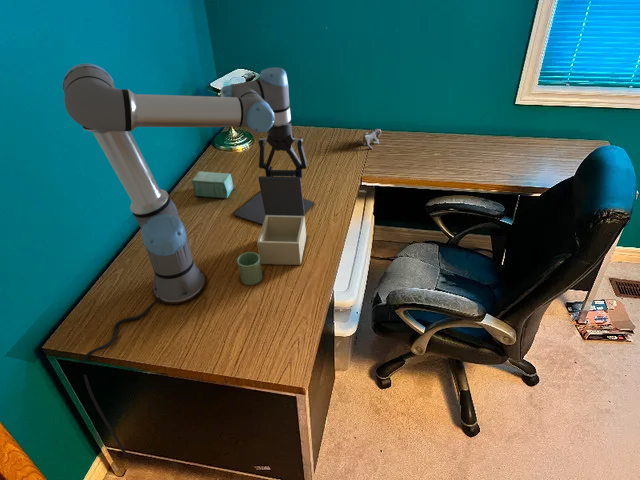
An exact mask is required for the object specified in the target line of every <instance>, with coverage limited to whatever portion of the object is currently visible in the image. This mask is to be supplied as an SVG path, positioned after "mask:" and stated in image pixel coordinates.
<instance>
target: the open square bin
mask: <svg viewBox="0 0 640 480" xmlns="http://www.w3.org/2000/svg"><path fill="white" fill-rule="evenodd" d="M306 241H307V229H306V216H305V215H304V216H272V215H266V216H265V219H264V223H263V225H262V226H261V229H260V231H259V235H258V239H257V241H256V245H257V250H258V255H259V256H260V262H261V265H284V266H285V265H289V266H291V265H292V266H301V265H302V262H303V261H302V260H303V255H304V251H305V245H306Z"/></svg>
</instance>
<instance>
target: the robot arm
mask: <svg viewBox="0 0 640 480" xmlns="http://www.w3.org/2000/svg"><path fill="white" fill-rule="evenodd" d="M287 75H288V74H287V71H286V70H285V69H283V68H281V67H267V68H265V69H262V70H261V72H260V76H259V78H258V79H254V80H250V81H244V82H238V83H231V84H229V85H225V86H222V87H221V88H220V96H208V95H207V96H206V95H205V96H204V95H173V94H171V95H170V94H143V93H141V94H140V93H138V94H137V93H134V92H133V91H131V90H130V89H129V88H128V89H124V88H123V89H122V88H116V87H115V83H114V80H113V78H112V76H111V75H110V74H109V72H107V71H106V70H105V68H103V67H101V66H98V65H96V64H93V63H79V64H76V65H74V66H72V67H71V68H70V69H68V70H67V71H66V73H65V76H64V78H63V80H62V90H63V94H64V95H63V101H64V107H65V110H66V112H67V114H68V116H69V117H70V118H71V119H72V120H73V121H74V122H75V123H77V124H78V125H80V126H81V127H82V129H83V130H85V131H87V132H91V133H92V134H93V136H94V137H95V139H96V141H97V143H98V145H99V146H100V147H101V149H102V151H103V153H104V154H105V157H106V158H107V160H108V162H109V164H110V165H111V167H112V169H113V171H114V172H115V174H116V177H117V178H118V180H119V182H120V183H121V185H122V186H123V188H124V190H125V192H126V194H127V195H128V197H129V198H130V201H131V203H130V206H129V209H130V211H131V213H132V215H133V216H134V218H135V220H136V222H137V224H138V225H139V227H140V230H141V240H142V244H143V246H144V247H145V250H146V253H147V256H148V259H149V261H150V264H151V268H152V270H153V273H154V275H153V284H152V285H153V288H152V289H153V293H154V295H155V298H156V299H155V300H154V301H153V302H152V303H151V304H150V305H148V306H147V307H146V309H144V311H142V313H141V314H139V315H136V316H132V317H127V318H126V317H125V318H123V319H120V320H118V321H117V322H116V323H115V324H114V326H113V336H112V339H110V340H109V341H108V342H106V343H105V344H103V345H101V346H99V347H96V348H93V349H92V350H90V351H89V352H87V353H86V354H85V355H84V357H83V358H82V360H81V364H84V363H85V362H86V361H87V359H88V358H89V357H90V356H91V355H93V354H94V353H96V352H98V351H101V350H103V349H105V348H108V347H109V346H110V345H112V344H113V343H114V342H115V341H116V339H117V335H118V333H117V332H118V330H117V329H118V327H119V326H120V324H122V323H125V322H129V321H135V320H139V319H141V318H142V317H144V316H145V315H146V314H147V313H148V312H149V311H150V310H151V309H152V308H153V307H154V306H155V305H156V304H158V302H161V303H163V304H166V305H181V304H185V303H189V302H190V301H192V300H194V299H196V298H197V297H198V296H200V294H201V293H202V292H203V290H204V288H205V286H206V279H205V275H204V273H203V272H202V270H201V269H200V268H199V267H198V265H197V264H196V263H195V261H194V257H193V254H192V251H191V247H190V243H189V240H188V236H187V229H186V227H185V225H184V223H183V222H182V220H181V217H180V216H179V213H178V209H177V206H176V204H175V202H173V200H172V199H171V197H170V195H169V193H168V192H167V191H166V190H165V189H161V188H160V187H159V185H158V183H157V181H156V179H155V177H154V175H153V173H152V172H151V169H150V168H149V166H148V163H147V161H146V160H145V157H144V156H143V153H142V151H141V150H140V148H139V146H138V144H137V141H136V140H135V138H134V136H133V134H132V133H131V132H133V131H134V130H135V129H136V128H249V129H250V130H251V131H253V132H255V133H261V134H262V133H265V132H266V133H267V137H263V136H260V137H259V140H258V142H257V143H258V145H259V159H258V168H259V169H263V170H264V172H265V176H270V171H271V170H273V166H271V163H272V160H273V157H274V155H275V152H279V151H282V152H286V154H287V155H288V156H289V158H290V159H291V161H292V163H293V165H294V166H295V169H294V170H295V175H296V176H295V177H301V179H302V178H303V170H306V169H307V166H308V160H307V158H306V153H305V150H304V145H303V140H304V139H303V137H295V136H294V135H293V129H292V128H293V127H292V121H291V120H292V117H291V116H292V115H291V106H290V94H289V93H290V92H289V81H288V76H287ZM267 143H268V144H269V145H270V146H271V149H270V153H269V155H268V158H267V161H266V163H265V157H266V156H265V154H266V145H267ZM293 143H294V144H295V146H296V147H297V151H298V155H299V157H298V155H297V154H296V152H295V150H294V148H293ZM82 374H83V373H82ZM83 380H84V383H85V386H86V388H87V391H88V394H89V396H90V398H91V401H92V403H93V405H94V406H95V409H96V410H97V412H98V414H99V415H100V417H101V419H102V420H103V422H104V424H105V426H106V427H107V429H108V430H109V432H110V434H111V435H112V437H113V439H114V440H115V442H116V443H117V445H118V447H119V449H120V451H121V452H122V454H123V456H124V457H127V456H128V453H127V452H126V450H125V448H124V446H123V444H122V443H121V441H120V439H119V438H118V436H117V434H116V433H115V431H114V430H113V428H112V426H111V425H110V423H109V421H108V420H107V418H106V416H105V414H104V413H103V411H102V408H101V407H100V405H99V403H98V402H97V400H96V397H95V395H94V393H93V391H92V387H91V385H90V382H89V379H88V375H87V374H85V373H84V374H83Z"/></svg>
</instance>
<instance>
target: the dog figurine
mask: <svg viewBox="0 0 640 480" xmlns="http://www.w3.org/2000/svg"><path fill="white" fill-rule="evenodd" d="M381 134H382V130H381V129H380V128H375V129H373V130H371V131H370V132H368V131H367V132H365V133H364V134H363V136H362V142H363V143H362V146H366V147H368V149H371V150H373V147H372V146H371V145H370V142H371V143H372V144H374V145H378V144H380V140H379V138H380V137H381Z"/></svg>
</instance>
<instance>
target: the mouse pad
mask: <svg viewBox="0 0 640 480" xmlns="http://www.w3.org/2000/svg"><path fill="white" fill-rule="evenodd" d="M303 204H304V213H306V212H307V211H308V210H309V209H310V208H311V207H312V206H313V201H311V200H309V199H304V198H303ZM234 216H235V217H238V218H241V219H243V220H247V221H250V222H253V223H256V224H259V225H262V226H263V223H264V219H265V216H266V215H265V210H264V205H263V200H262V195H261V191H259V192H258V193H256V194H255V195H254V196H253V197H252V198H250V199H249V200H248V201H247V202H246V203H245V204H243V205H242V206H241V207H240V208H239V209H237V210H236V211H235V212H234ZM272 216H298V215H272Z"/></svg>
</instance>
